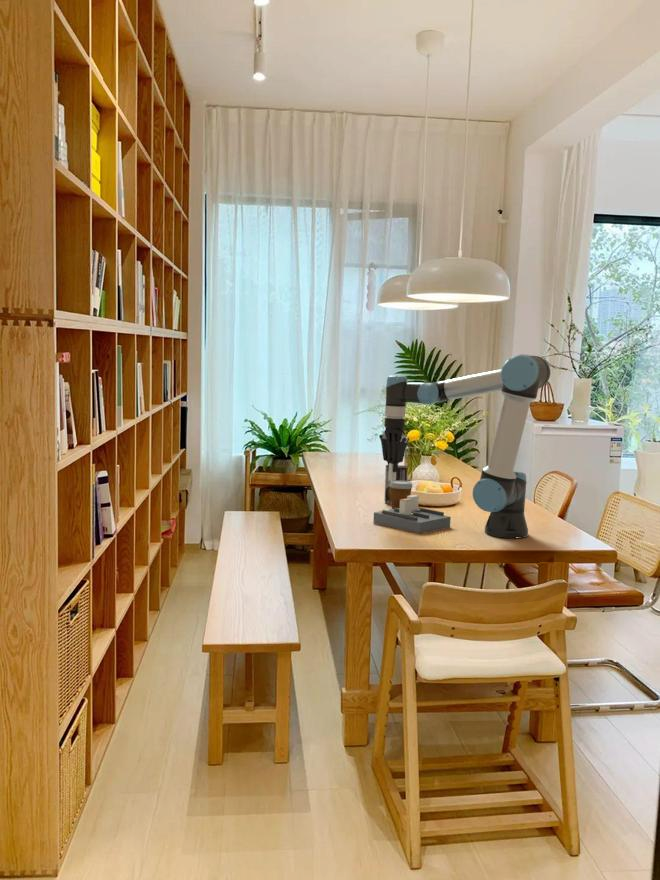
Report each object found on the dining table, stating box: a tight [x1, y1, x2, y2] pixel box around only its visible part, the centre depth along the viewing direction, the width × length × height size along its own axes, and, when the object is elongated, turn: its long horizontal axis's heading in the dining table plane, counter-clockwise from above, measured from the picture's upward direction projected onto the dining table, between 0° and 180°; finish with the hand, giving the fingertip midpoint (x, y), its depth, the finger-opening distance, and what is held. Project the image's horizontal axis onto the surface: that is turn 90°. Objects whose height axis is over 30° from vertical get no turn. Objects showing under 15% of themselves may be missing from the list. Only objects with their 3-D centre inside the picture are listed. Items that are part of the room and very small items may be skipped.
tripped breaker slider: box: [399, 498, 414, 516], centre depth 278 cm, size 4×5×6 cm
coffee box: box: [383, 464, 408, 505], centre depth 324 cm, size 9×6×16 cm
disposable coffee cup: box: [389, 480, 414, 509], centre depth 307 cm, size 10×10×12 cm
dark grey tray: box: [372, 494, 451, 534], centre depth 281 cm, size 22×18×10 cm
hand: (392, 480), depth 282 cm, fingers closed
